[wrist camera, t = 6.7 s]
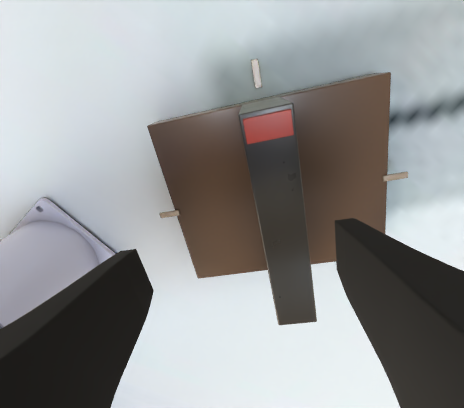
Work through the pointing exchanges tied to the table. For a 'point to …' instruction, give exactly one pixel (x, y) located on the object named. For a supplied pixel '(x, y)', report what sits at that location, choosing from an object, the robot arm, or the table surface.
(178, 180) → the base
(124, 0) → the table surface
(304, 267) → the red tipped gray strip
